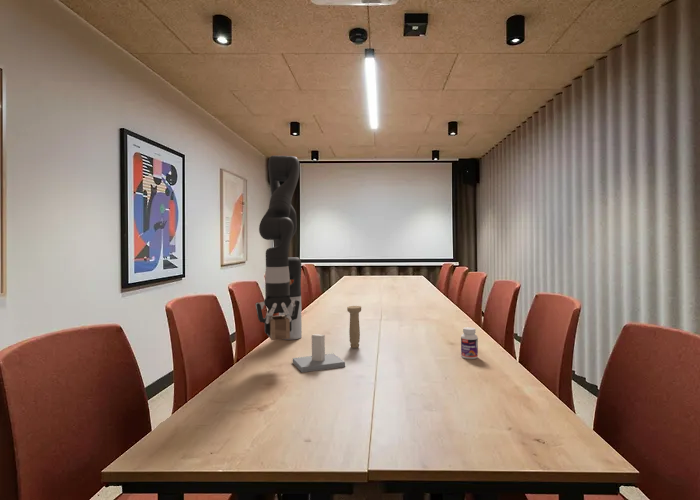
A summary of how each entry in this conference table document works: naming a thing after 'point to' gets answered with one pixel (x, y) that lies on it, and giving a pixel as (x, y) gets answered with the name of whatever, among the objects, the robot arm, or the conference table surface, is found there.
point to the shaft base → (317, 364)
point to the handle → (354, 325)
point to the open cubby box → (279, 327)
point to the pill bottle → (469, 343)
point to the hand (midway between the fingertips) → (278, 333)
